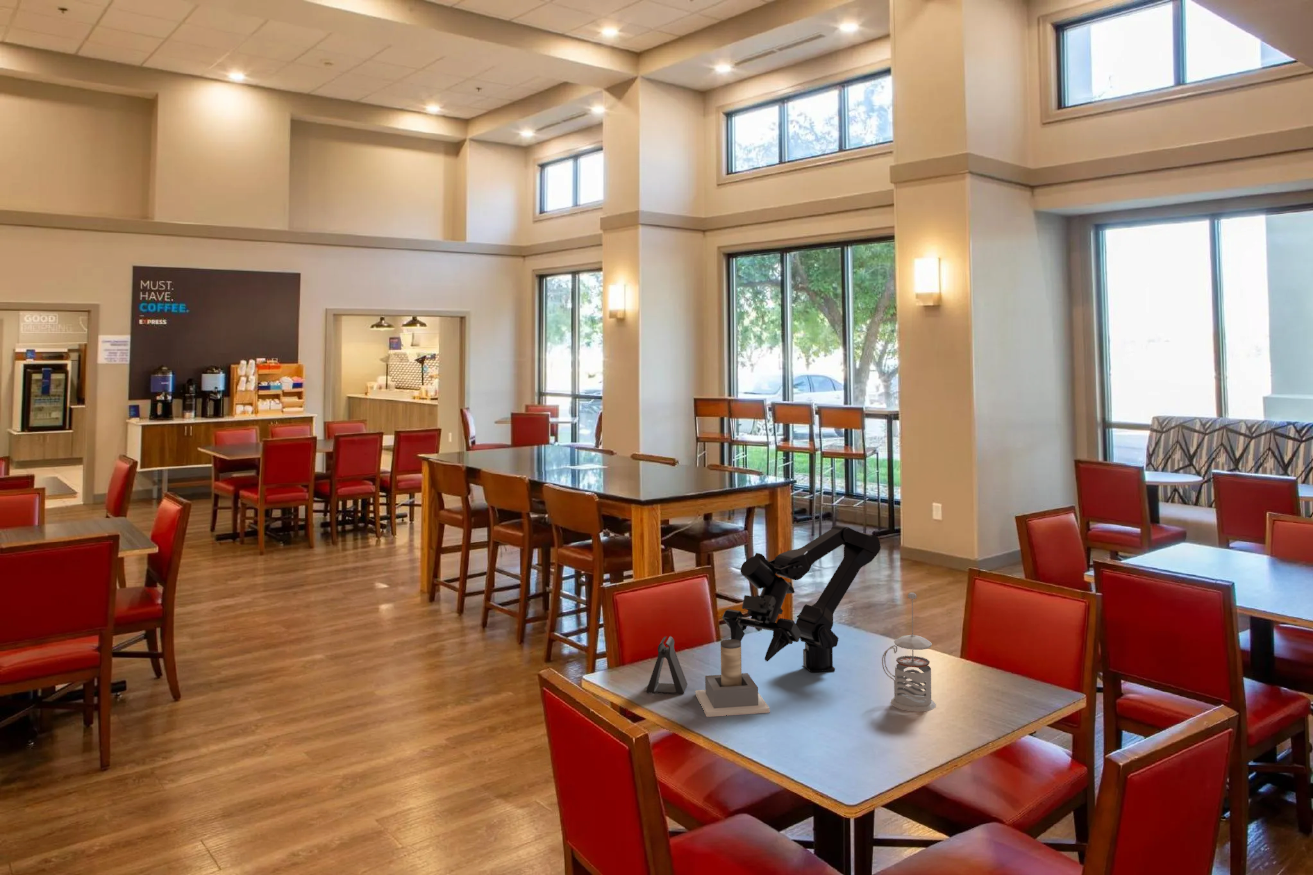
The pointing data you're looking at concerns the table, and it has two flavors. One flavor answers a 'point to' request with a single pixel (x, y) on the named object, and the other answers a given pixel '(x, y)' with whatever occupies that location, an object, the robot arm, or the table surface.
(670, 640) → the phone stand
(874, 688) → the table surface
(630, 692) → the table surface
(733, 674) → the rail post
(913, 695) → the french press
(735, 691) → the post socket
